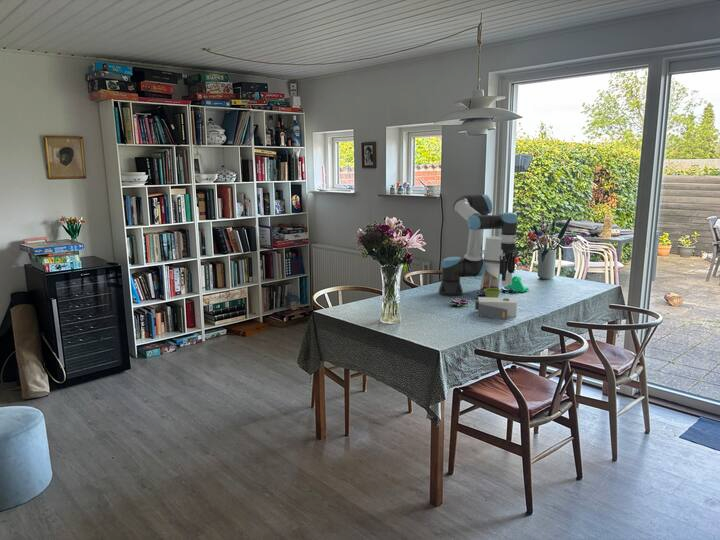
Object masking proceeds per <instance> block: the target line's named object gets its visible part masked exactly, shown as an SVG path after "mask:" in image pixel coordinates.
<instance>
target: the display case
mask: <svg viewBox="0 0 720 540" xmlns="http://www.w3.org/2000/svg"><path fill="white" fill-rule="evenodd" d="M484 242H485V243H484V250H485V251H484V252H483V253H484V254H483V259H484V261H485V270H484V273H483V274H482V276H481V280H480V293H485V291H484V289H486V288H494V289H499V290H500V288H499V286H500V278H501V277H500V276H501V274H500V256H502V255H503V250H501V243H502V241H501V236H492V235H486V236H485V241H484Z"/></svg>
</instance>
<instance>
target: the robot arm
mask: <svg viewBox="0 0 720 540" xmlns="http://www.w3.org/2000/svg"><path fill="white" fill-rule="evenodd" d="M452 203H453V204H452V210H453V212H454V213H455V214H456V215H457V216H459V217H462V218H463V219H465V220H466V221H467V227H468V230H469V231H468V239H467V248H466V249H467V250H466V253H465V254H464V255H463V258H461V257H460V256H449V257H446V258H443V259H442V262H441V283H440V286H439V288H438V294H439V295H442V296H446V297H459V296H462V295H463V288H462V283H461V278H468V277H469V278H476V277H482V276H481V275H482V274H483V273H484V270H485V261H484V256H482V253H481V251H482V245H483V238H484V237H483V236H484V230H501V235H500V237H501V241H502V243H501V250H503V255H502V256H500V275H501V287H505V288H507V285H512V278H513V274H515V271H516V256H517V253H516V252H514V251H516V248H517V244H516V242H517V238H518V237H517V229H518V228H517V226H518V214H517V213H515V212H503V213H497V214H491V213H492V212H493V202H492V199H491V197H490V196H489V194H482V193H480V194H463V195H460V196H458V197H457V198H455V200H454V201H453V202H452ZM507 267H508V271H507Z"/></svg>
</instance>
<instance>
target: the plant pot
mask: <svg viewBox="0 0 720 540" xmlns="http://www.w3.org/2000/svg"><path fill="white" fill-rule="evenodd" d="M484 291H485V292H484V293H485V297H494V298H499V297H500V296H499V295H500V293H501V290H500V288H499V289H494V288H486V289H484Z"/></svg>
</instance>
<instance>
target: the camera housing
mask: <svg viewBox="0 0 720 540" xmlns="http://www.w3.org/2000/svg"><path fill="white" fill-rule="evenodd" d="M479 304H484V305H489V306H494V307H499V308H504V309H508V310H507V316H513V318H515V317H517V306H518V303H517V300H516V298H515V297H498V298H494V297H486V296H483V297H482V296H478V297H477V300H475V305H474V308H475V309H474V310H476V311H477V313H478V314H479ZM514 316H515V317H514ZM479 317H484V316H483V315H480V316H479Z"/></svg>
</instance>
